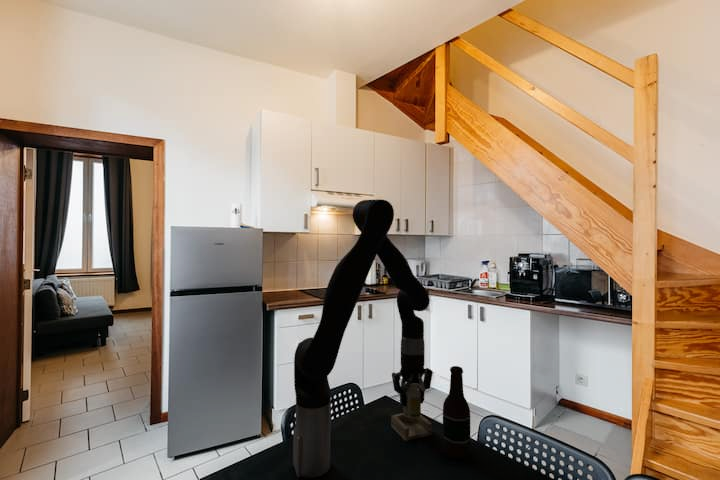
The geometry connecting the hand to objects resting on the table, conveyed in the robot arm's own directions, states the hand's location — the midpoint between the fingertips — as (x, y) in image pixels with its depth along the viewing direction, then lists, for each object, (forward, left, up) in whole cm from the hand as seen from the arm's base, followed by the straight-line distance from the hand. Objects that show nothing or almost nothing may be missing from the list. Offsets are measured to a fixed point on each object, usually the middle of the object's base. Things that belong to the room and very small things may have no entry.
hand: (412, 403), depth 111 cm
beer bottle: (+6, -14, -9) cm, 18 cm away
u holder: (0, +1, -9) cm, 9 cm away
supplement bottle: (0, 0, -4) cm, 4 cm away
